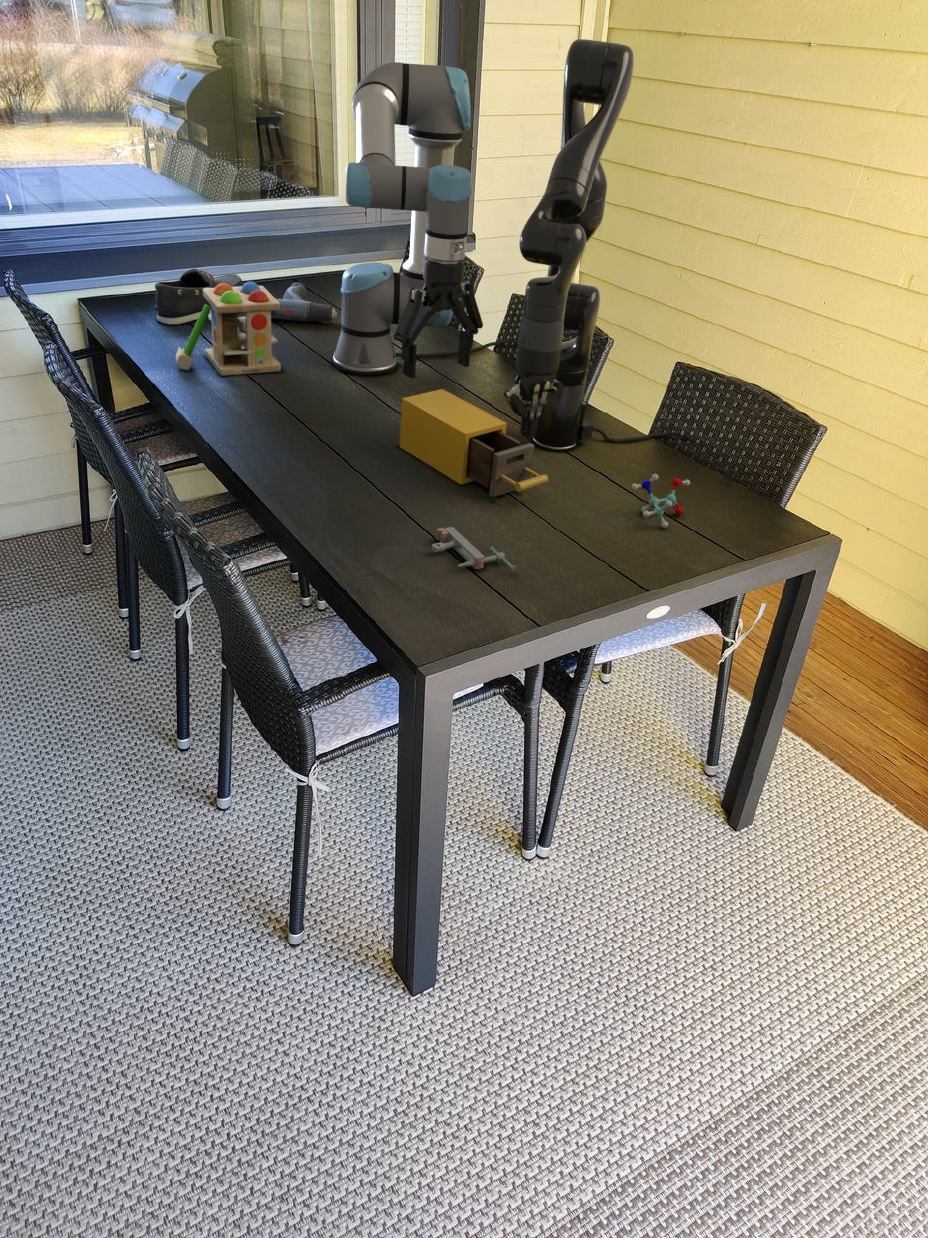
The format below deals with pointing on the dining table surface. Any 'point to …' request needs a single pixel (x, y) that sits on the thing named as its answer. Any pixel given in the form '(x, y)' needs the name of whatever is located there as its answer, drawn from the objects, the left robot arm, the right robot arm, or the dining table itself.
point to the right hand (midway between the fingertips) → (527, 435)
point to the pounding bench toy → (229, 347)
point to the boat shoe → (187, 295)
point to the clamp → (465, 549)
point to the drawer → (502, 463)
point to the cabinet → (443, 430)
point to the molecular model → (654, 501)
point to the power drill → (301, 307)
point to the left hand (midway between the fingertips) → (436, 370)
